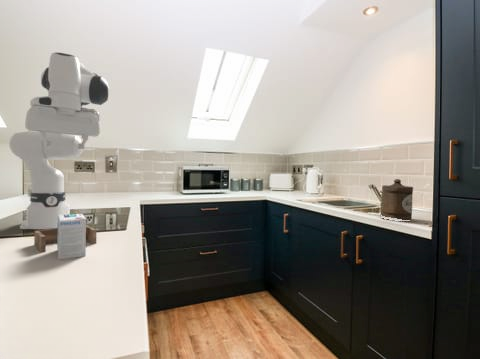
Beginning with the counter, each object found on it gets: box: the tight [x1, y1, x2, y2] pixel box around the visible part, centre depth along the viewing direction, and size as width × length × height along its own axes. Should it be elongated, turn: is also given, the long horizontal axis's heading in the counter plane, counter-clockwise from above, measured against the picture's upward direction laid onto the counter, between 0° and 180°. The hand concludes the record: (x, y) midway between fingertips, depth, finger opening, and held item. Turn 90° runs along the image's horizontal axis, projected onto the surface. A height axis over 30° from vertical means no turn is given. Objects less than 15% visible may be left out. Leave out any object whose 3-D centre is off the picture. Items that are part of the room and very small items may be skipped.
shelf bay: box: [33, 224, 97, 253], centre depth 90 cm, size 10×15×4 cm
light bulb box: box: [56, 213, 87, 261], centre depth 81 cm, size 11×7×11 cm, turn 35°
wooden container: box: [380, 178, 414, 221], centre depth 151 cm, size 15×15×22 cm
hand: (65, 148), depth 89 cm, fingers open, 8 cm apart
